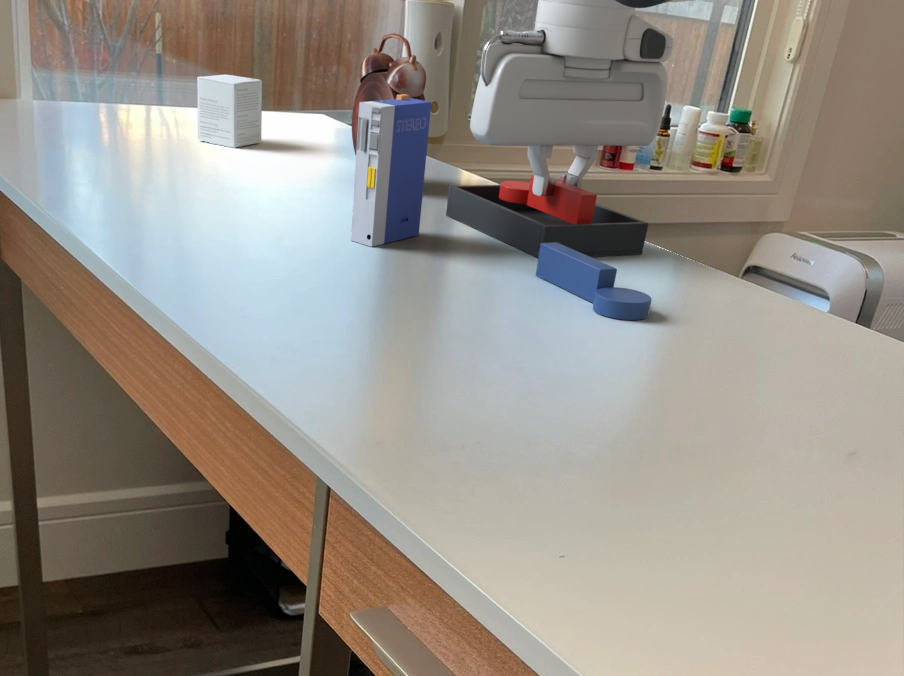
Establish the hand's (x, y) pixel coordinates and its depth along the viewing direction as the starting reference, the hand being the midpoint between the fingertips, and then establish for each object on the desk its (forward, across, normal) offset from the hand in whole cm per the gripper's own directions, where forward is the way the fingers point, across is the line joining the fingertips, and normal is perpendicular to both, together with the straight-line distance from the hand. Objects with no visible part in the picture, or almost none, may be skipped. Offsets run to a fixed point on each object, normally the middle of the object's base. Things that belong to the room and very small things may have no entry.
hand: (555, 194), depth 111 cm
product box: (+4, -15, +53) cm, 55 cm away
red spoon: (+2, 0, +2) cm, 2 cm away
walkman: (+4, -18, +2) cm, 18 cm away
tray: (+4, 0, +2) cm, 4 cm away
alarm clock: (+4, -5, +26) cm, 27 cm away
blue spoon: (+4, -9, -20) cm, 22 cm away
